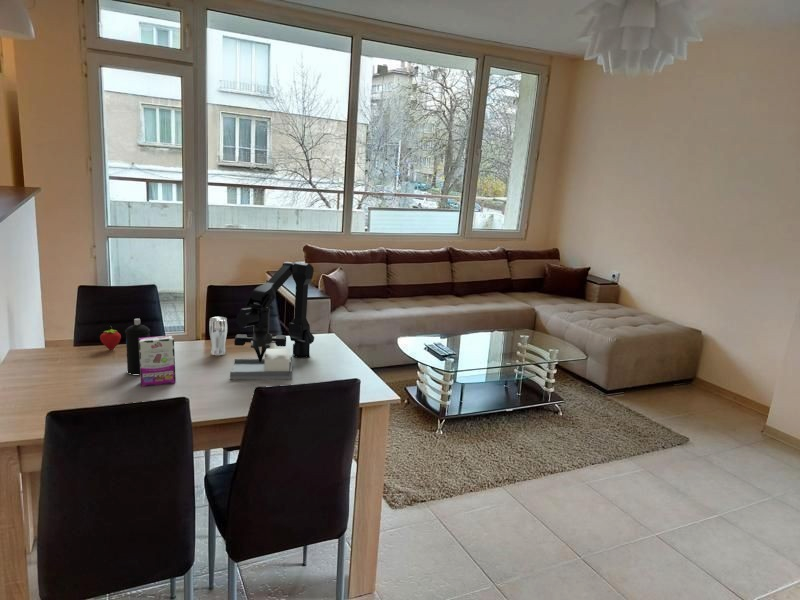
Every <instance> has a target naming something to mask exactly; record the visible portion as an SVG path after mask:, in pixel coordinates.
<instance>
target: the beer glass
mask: <svg viewBox="0 0 800 600" xmlns="http://www.w3.org/2000/svg"><path fill="white" fill-rule="evenodd" d="M227 320H228V318H227V317H226V316H225V317H224V316H213V317H210V318H209V325H208V326H209V327H208V328H209V329H208V331H209V336H210V337H209V338H210V343H211V349H210V355H211V356H214V355H215V356H214V357H218V356H219V357H220V355H222V356H225V355H226V354H227V349H226V340H227V335H228V321H227Z"/></svg>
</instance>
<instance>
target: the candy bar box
mask: <svg viewBox="0 0 800 600" xmlns="http://www.w3.org/2000/svg"><path fill="white" fill-rule="evenodd" d="M175 353H176V352H175V339H174V335H172V334H171V335H160V336H159V335H158V336H150V337H146V338H139V357H140V375H139V376H140V386H141V387H142V386H144V387H151V385H153V386H160V385H169V384H175V383H176V382H177V381H176V362H175V359H176V358H175V357H176V356H175Z"/></svg>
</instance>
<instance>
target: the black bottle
mask: <svg viewBox="0 0 800 600" xmlns="http://www.w3.org/2000/svg"><path fill="white" fill-rule="evenodd" d="M133 323H134V324H132V325H130V326H128V327H127V328H126V329H125V330H124V333H125V343H126V344H125V345H126V364H127V365H126V366H127V371H128V373H131V374H140V357H139V338H146V337H151V334H150V332H151V329H150V328H149V327H148V326H146V325H144V324H141V319H140V318H134V319H133Z"/></svg>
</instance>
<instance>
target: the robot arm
mask: <svg viewBox="0 0 800 600" xmlns="http://www.w3.org/2000/svg"><path fill="white" fill-rule="evenodd" d="M314 272H315V271H314V266H313V265H312V264H311V263H307V262H301V261H300V262H299V261H296V262H293V261H284V262H283V263H282V265H281V267H280V268H278V270H277V271H276V272H275V273H274V274H273V275H272V276H271V277H270V278H269V279H268V281H266V282H265V283H263V284H260V285H258V286H257V287H256V288H254V289H252V292H251V293H250V296H249V298H248V300H247V302H246V304H245V306H244V307H243V308H240V312H238V313H237V315H236V317H235V321H236V324H237V326H238V327H239V328H241V329H244V328H248V327H252V326H253V329H252V331H253V332H252V336H251V337H249V336H248V335H247V334H243V333H242V334H241V333H239V334H236V335H235V337H234V345H233V346H237V347H238V346H242V347H243V346H244V345H246V343H250V349H251V348H252V349H254V351H255V354H256V356H257V359H259V362H261V361H262V359H264V356H265V354H266V349H271V344H275V346H276V347H287V336H286V335H285V334H284V335H279V334H276V335H275V337H273V333H270V313H271V312H270V311H273V310H274V307H273V306H272V305H271V304H272V303H273V301H274V299H276V293H277V292H278V291H279V289H280V288H282V286H283V285H284V284H285V282H286V281H287V280H289V278H290V277H291V276H292V279H293V281H294V284H295V295H294V296H295V297H294V313H293V314H294V315H293V319H292V320H291V322H288V329H287V332H288V335H289V338H290V341H291V342H294V343H292V355H293V358H310V357H311V356H310V355H311V354H310V349H311V348H310V347H311V346H310V345H311V344H313V343H314V341H315V336H314V335H313V334H312V332H311V329H310V328H311V325H310V324H309V322H308V319H307V312H308V294H309V285H310V282H311V281H312V279H313V276H314Z"/></svg>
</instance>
